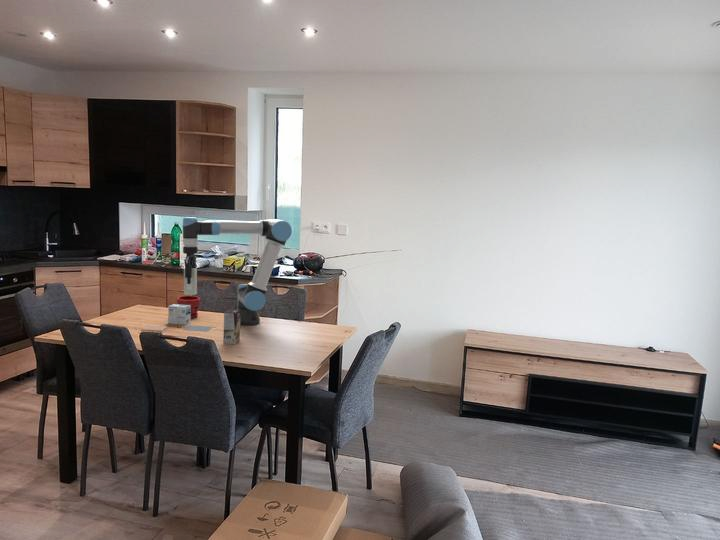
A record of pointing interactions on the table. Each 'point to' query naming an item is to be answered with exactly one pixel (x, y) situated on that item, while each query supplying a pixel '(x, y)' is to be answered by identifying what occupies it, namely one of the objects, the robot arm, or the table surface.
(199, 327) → the tool mat
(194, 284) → the pusher tool
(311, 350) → the table surface
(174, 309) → the light bulb box
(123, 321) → the table surface
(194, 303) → the plant pot
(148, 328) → the tile
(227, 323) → the coffee box
